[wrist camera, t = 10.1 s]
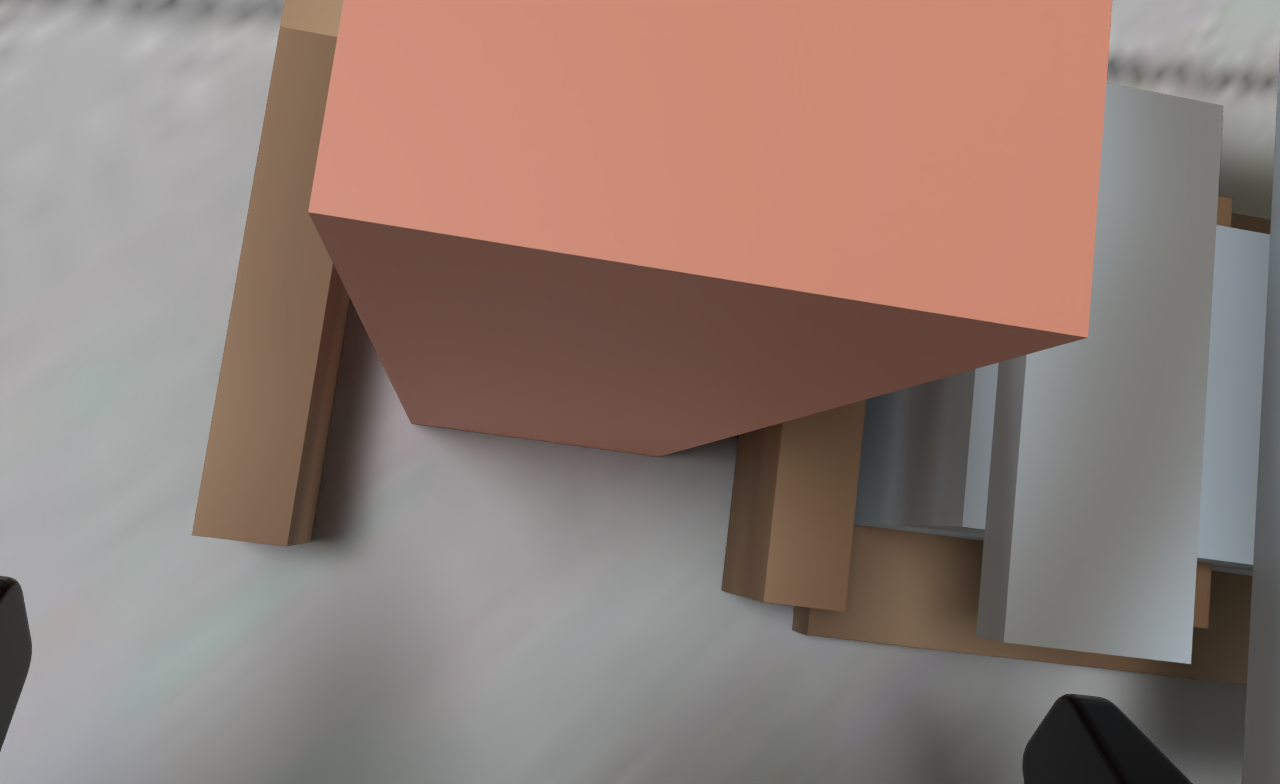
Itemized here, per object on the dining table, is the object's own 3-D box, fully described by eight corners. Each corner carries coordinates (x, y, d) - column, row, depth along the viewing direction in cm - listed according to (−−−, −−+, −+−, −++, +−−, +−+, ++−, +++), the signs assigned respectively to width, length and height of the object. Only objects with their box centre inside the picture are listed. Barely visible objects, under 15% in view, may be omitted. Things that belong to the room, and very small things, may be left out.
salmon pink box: (659, 457, 18) (1087, 338, 6) (411, 423, 18) (309, 211, 5) (680, 278, 18) (1126, -188, 6) (439, 238, 18) (404, -359, 6)
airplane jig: (207, 665, 17) (64, 753, 11) (324, -24, 18) (258, -298, 12) (1525, 798, 20) (1993, 924, 14) (1536, 209, 21) (1966, 88, 15)
